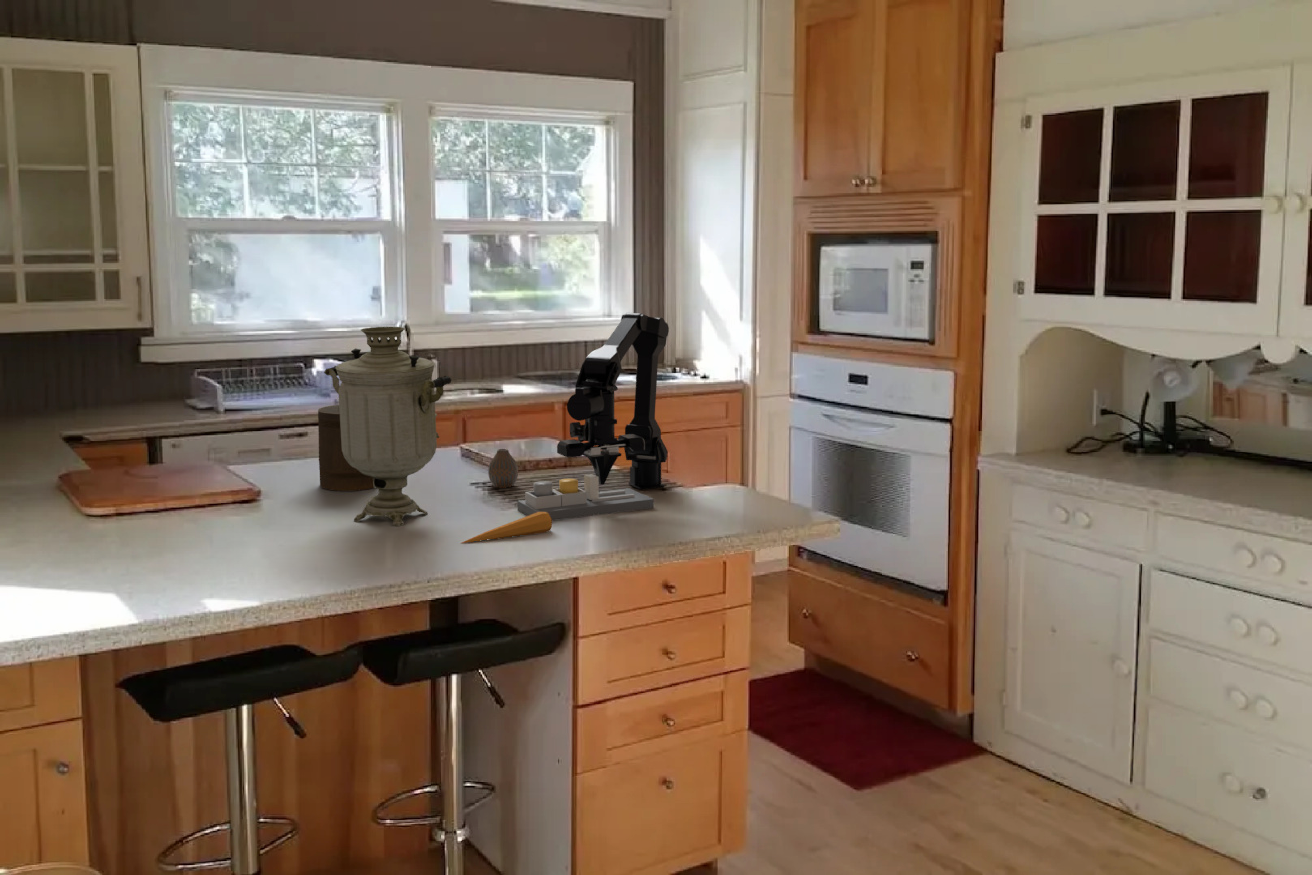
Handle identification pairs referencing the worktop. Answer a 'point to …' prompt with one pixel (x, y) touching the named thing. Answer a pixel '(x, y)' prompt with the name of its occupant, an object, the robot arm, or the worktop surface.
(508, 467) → the vase
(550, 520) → the carrot
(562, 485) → the amber button
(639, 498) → the panel
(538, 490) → the grey button
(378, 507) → the samovar
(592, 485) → the slider paddle
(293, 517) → the worktop surface
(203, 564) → the worktop surface
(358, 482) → the wooden container
